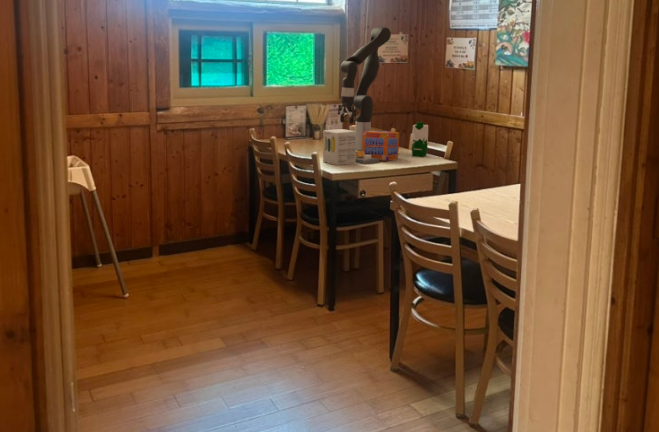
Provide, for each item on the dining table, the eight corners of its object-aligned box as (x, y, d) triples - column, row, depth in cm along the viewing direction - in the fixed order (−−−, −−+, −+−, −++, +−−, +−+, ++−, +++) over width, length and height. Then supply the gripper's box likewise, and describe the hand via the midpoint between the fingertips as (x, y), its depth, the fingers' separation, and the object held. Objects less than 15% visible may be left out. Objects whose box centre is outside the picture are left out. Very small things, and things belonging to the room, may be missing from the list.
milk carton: (410, 156, 413) (411, 122, 408) (413, 154, 421) (415, 120, 417) (425, 157, 410) (426, 122, 406) (428, 155, 419) (429, 121, 414)
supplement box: (322, 162, 390) (322, 130, 386) (341, 160, 398) (341, 128, 394) (337, 165, 380) (337, 132, 376) (356, 163, 388) (356, 131, 384)
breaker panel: (357, 158, 405) (357, 151, 404) (379, 162, 391) (379, 155, 390) (342, 159, 398) (342, 152, 397) (363, 164, 384) (364, 156, 384)
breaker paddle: (362, 156, 397) (361, 151, 397) (365, 155, 395) (364, 150, 395) (356, 157, 394) (354, 152, 394) (358, 156, 392) (357, 151, 392)
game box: (361, 159, 401) (362, 131, 399) (374, 157, 414) (375, 131, 412) (386, 160, 393) (386, 132, 391) (398, 159, 406) (399, 131, 404)
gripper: (360, 96, 419) (359, 123, 423) (344, 94, 430) (343, 121, 433) (350, 96, 414) (349, 124, 418) (335, 94, 425) (334, 122, 429)
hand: (346, 122), depth 426 cm, fingers open, 8 cm apart
